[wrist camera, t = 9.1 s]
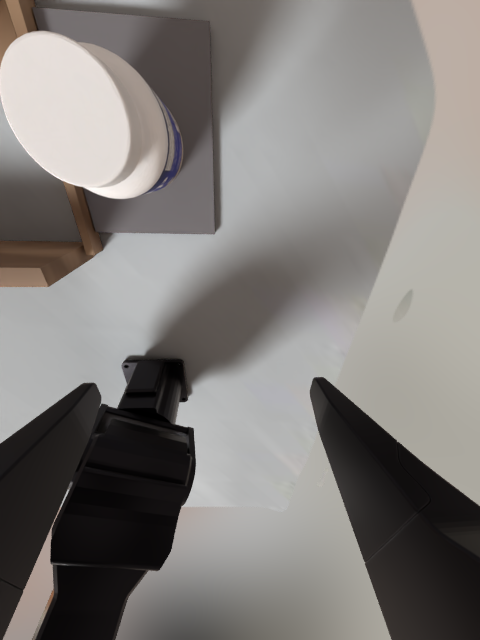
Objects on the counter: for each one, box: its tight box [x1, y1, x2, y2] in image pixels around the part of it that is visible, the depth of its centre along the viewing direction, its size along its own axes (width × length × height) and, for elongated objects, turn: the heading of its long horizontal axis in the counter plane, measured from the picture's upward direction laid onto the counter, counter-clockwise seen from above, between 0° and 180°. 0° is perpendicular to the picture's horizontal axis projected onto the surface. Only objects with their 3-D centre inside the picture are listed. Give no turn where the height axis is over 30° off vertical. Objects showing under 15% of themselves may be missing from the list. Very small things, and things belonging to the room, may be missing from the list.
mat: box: [32, 7, 215, 234], centre depth 15 cm, size 11×9×1 cm
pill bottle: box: [0, 31, 183, 199], centre depth 11 cm, size 5×5×9 cm
